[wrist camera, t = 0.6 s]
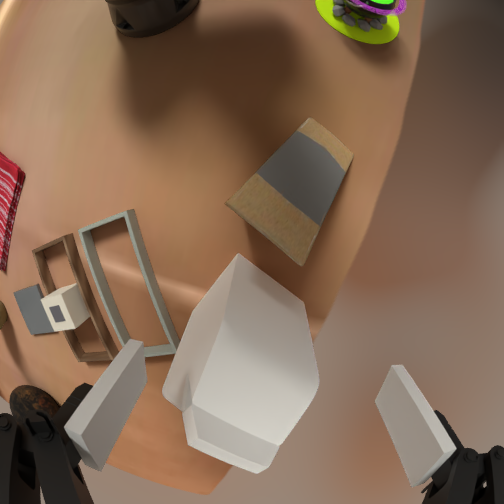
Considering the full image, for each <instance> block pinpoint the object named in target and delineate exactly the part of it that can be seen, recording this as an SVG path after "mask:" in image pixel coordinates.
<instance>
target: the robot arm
mask: <svg viewBox="0 0 504 504" xmlns="http://www.w3.org/2000/svg"><path fill="white" fill-rule="evenodd" d="M105 1H106V2H107V3H108V7H109V11H110V15H111V19H112V22H113V24H114V25H115V27H116V28H117V29H118V30H119V31H120V32H121V33H123V34H124V35H127V36H130V37H146V36H151V35H155V34H158V33H161V32H163V31H165V30H168V29H170V28H172V27H173V26H175V25H177V24H178V23H180V22H181V21H182V20H184V19H185V18H186V17H187V16H188V15H189V14H190V13H191V12H192V11H193V10H194V8H195V7H196V5H197V3H198V0H105ZM146 383H147V375H146V366H145V356H144V345H143V342H142V341H137V340H133V339H129V340H128V342H127V343H126V344H125V346H124V347H123V348H122V349H121V351H120V352H119V353H118V355H117V356H116V357H115V358H114V360H113V361H112V362H111V364H110V365H109V366H108V368H107V369H106V370H105V371H104V373H103V374H102V375H101V377H100V378H99V379H98V381H97V382H96V383H95V385H94V386H92V385H89V384H87V383H83V384H82V385H80V386H78V387H77V388H75V390H74V391H73V392H72V393H71V395H70V397H68V398H67V400H66V402H64V404H63V405H62V406H61V407H60V409H59V410H58V411H57V413H56V414H55V415H54V416H53V418H51V416H50V415H49V414H48V413H47V412H46V411H43V410H39V409H35V410H31V411H29V412H28V413H26V415H25V416H24V418H23V424H24V425H22V424H18V423H17V421H16V419H15V418H14V417H13V416H12V415H10V414H8V413H2V414H0V504H41V500H40V486H41V489H42V493H43V497H44V500H45V503H46V504H94V502H93V500H92V498H91V496H90V493H89V491H88V489H87V486H86V483H85V480H84V477H83V475H82V472H81V469H80V467H79V465H78V463H79V462H80V460H81V459H82V460H83V462H84V463H85V465H87V466H89V467H91V468H94V469H96V470H98V471H102V469H103V467H104V465H105V463H106V461H107V459H108V456H109V454H110V452H111V450H112V448H113V446H114V444H115V443H116V441H117V439H118V437H119V435H120V433H121V431H122V429H123V427H124V425H125V423H126V421H127V419H128V417H129V415H130V413H131V411H132V409H133V408H134V406H135V404H136V402H137V400H138V398H139V396H140V394H141V392H142V391H143V389H144V387H145V385H146ZM375 403H376V405H377V407H378V410H379V412H380V414H381V416H382V418H383V421H384V423H385V425H386V427H387V430H388V432H389V434H390V436H391V439H392V441H393V443H394V446H395V448H396V450H397V452H398V455H399V458H400V460H401V462H402V465H403V467H404V470H405V472H406V475H407V477H408V480H409V482H410V484H411V487H414V486H417V485H420V484H423V483H425V482H426V481H427V480H428V479H429V478H430V477H432V479H433V481H432V482H431V483H430V484H429V485H428V486H426V487H425V488H424V489H423V491H422V492H421V493H424V492H425V491H426V490H427V489H428V490H427V493H426V495H425V498H424V500H423V502H422V504H504V448H503V447H501V446H498V445H497V446H494V447H493V448H492V449H491V450H490V451H489V452H488V453H483V454H478V453H477V452H476V451H475V450H473V449H471V448H464V447H463V445H462V444H461V442H460V441H459V439H458V437H457V436H456V434H455V432H454V431H453V430H452V429H451V426H450V425H449V424H448V421H447V420H446V418H445V417H444V415H442V414H441V413H440V412H439V411H437V410H435V411H433V409H432V408H431V406H430V405H429V403H428V402H427V400H426V399H425V397H424V396H423V394H422V393H421V391H420V390H419V388H418V387H417V385H416V384H415V382H414V381H413V379H412V378H411V376H410V375H409V373H408V372H407V371H406V369H405V368H404V366H403V365H392V366H391V368H390V370H389V372H388V375H387V377H386V379H385V381H384V383H383V386H382V388H381V390H380V392H379V394H378V396H377V398H376V400H375ZM485 482H486V483H487V486H486V487H485V488H484V487H483V484H484V483H485Z"/></svg>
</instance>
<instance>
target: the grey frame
mask: <svg viewBox="0 0 504 504" xmlns="http://www.w3.org/2000/svg"><path fill="white" fill-rule="evenodd" d="M123 217H125V220H126V224H127V227H128V231H129V234H130V237H131V241H132V244H133V247H134V250H135V253H136V256H137V259H138V262H139V265H140V268H141V271H142V274H143V277H144V280H145V282H146V285H147V288H148V291H149V293H150V296H151V299H152V301H153V304H154V306H155V309H156V312H157V314H158V317H159V319H160V321H161V324H162V326H163V329H164V331H165V333H166V336H167V338H168V340H169V343H170V344H165V345H158V346H150V347H144V356H145V357H151V356H160V355H168V354H176V351H177V349H178V346H179V344H180V340H179V338H178V335H177V333H176V331H175V328H174V326H173V323H172V321H171V318H170V316H169V313H168V311H167V308H166V305H165V303H164V300H163V298H162V295H161V292H160V289H159V287H158V284H157V281H156V278H155V275H154V272H153V270H152V267H151V264H150V261H149V258H148V254H147V251H146V248H145V245H144V242H143V239H142V235H141V232H140V229H139V225H138V222H137V218H136V215H135V211H134V209H132V210H127V211H124V212H122V213H119V214H116V215H114V216H111V217H108V218H106V219H103V220H101V221H98V222H96V223H93V224H91V225H88V226H86V227H84V228H81V229H79V230H78V232H79V235H80V239H81V242H82V245H83V249H84V252H85V255H86V258H87V261H88V264H89V267H90V270H91V273H92V275H93V278H94V281H95V284H96V286H97V289H98V292H99V294H100V297H101V299H102V302H103V304H104V307H105V309H106V311H107V314H108V316H109V318H110V321H111V323H112V325H113V327H114V330H115V332H116V334H117V336H118V338H119V340H120V342H121V344H122V346H123V347H124V346H125V344H126V343H127V342H128V340H129V339H131V338H130V336H129V334H128V332H127V330H126V327H125V325H124V323H123V321H122V318H121V316H120V314H119V311H118V309H117V306H116V304H115V302H114V299H113V296H112V294H111V291H110V289H109V286H108V283H107V281H106V278H105V275H104V272H103V269H102V267H101V264H100V261H99V258H98V255H97V252H96V248H95V245H94V242H93V239H92V235H91V232H90V230H91V229H94V228H96V227H99V226H101V225H104V224H107V223H109V222H112V221H115V220H117V219H120V218H123Z"/></svg>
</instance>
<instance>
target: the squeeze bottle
mask: <svg viewBox="0 0 504 504" xmlns="http://www.w3.org/2000/svg"><path fill="white" fill-rule="evenodd" d="M6 320H7V313H6V309H5V307H4V305H3V304H2V302H1V301H0V329H1V328H2V326H3V325H4V323H5V322H6Z"/></svg>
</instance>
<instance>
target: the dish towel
mask: <svg viewBox="0 0 504 504" xmlns="http://www.w3.org/2000/svg"><path fill="white" fill-rule="evenodd" d="M24 177H25V173H24V172H23V171H22V170H21V169H20V167H18V166H17V165H16V164H15V163H14V162H12V161H11V160H9V159H8V158H7V157H6V156H5V155H3V154H2V153H1V152H0V270H1V271H2V270H4V271H5V268H6V263H7V257H8V250H9V245H10V239H11V234H12V227H13V223H14V218H15V213H16V208H17V205H18V201H19V197H20V193H21V189H22V184H23V180H24Z"/></svg>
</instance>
